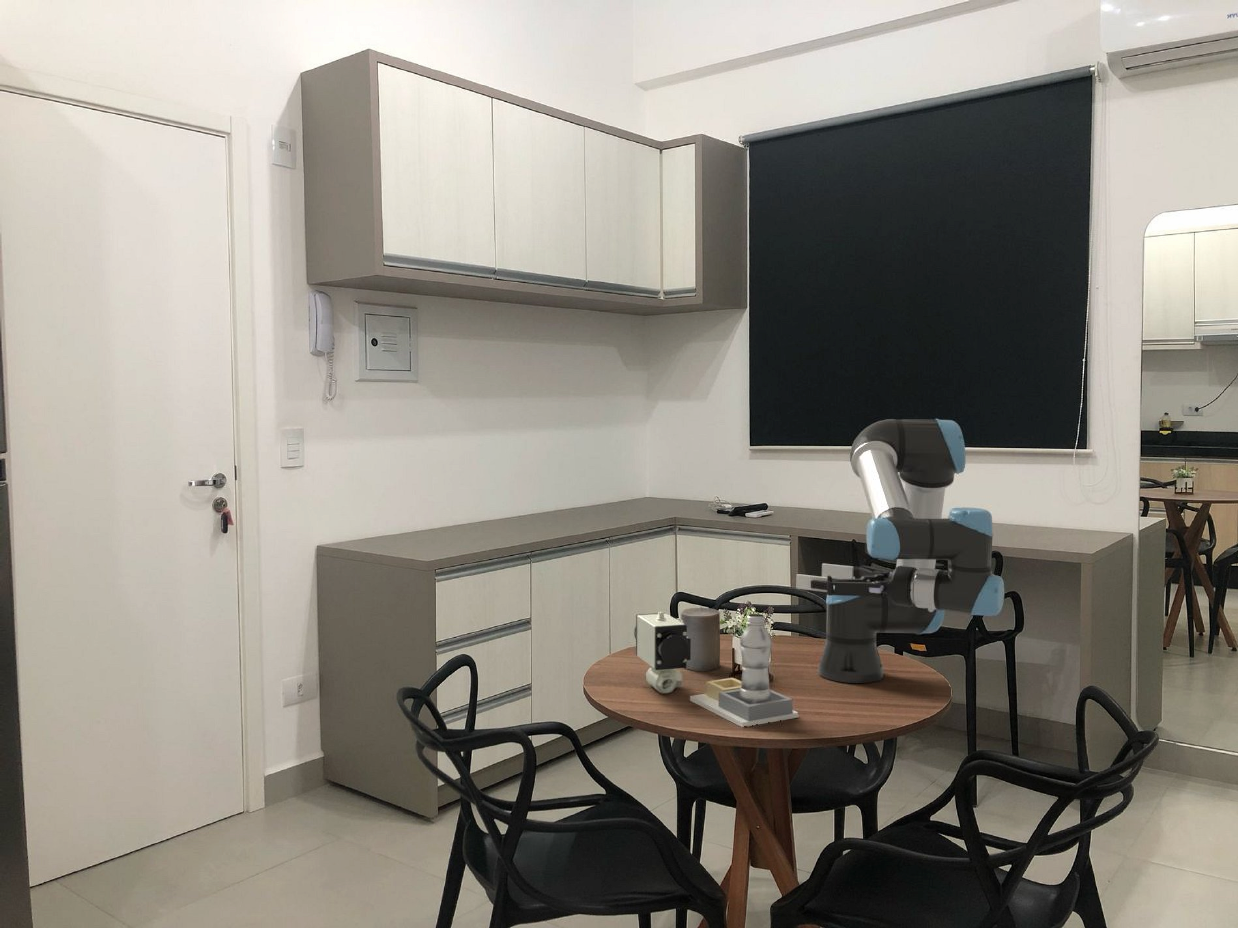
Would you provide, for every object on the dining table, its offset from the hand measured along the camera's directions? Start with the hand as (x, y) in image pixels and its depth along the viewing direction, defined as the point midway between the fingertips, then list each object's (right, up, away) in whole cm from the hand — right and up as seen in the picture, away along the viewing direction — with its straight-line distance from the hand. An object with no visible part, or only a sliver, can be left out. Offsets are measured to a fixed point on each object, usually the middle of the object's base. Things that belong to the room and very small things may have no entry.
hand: (809, 575), depth 198 cm
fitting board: (-12, -30, +12) cm, 34 cm away
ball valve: (-28, -29, +26) cm, 48 cm away
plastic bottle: (-10, -29, +8) cm, 32 cm away
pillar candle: (-18, -28, +46) cm, 56 cm away
